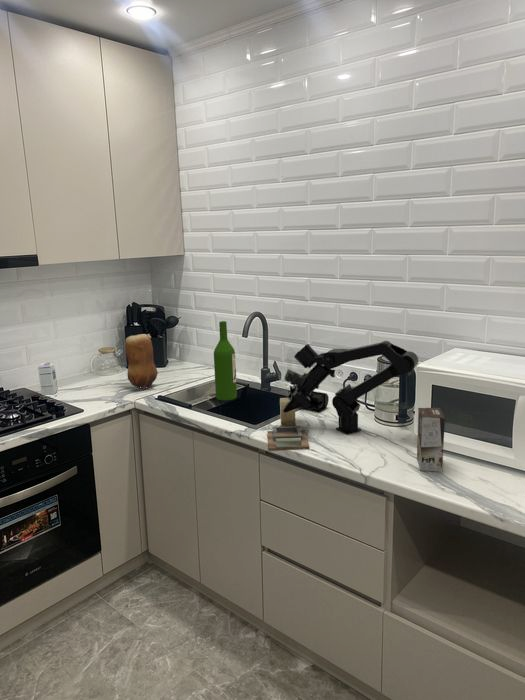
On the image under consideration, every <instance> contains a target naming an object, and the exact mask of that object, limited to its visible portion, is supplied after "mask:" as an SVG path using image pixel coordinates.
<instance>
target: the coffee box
mask: <svg viewBox="0 0 525 700" xmlns="http://www.w3.org/2000/svg"><path fill="white" fill-rule="evenodd" d="M417 412H418V413H417V436H416V437H417V445H416V460H417V464H418V467H419V471H424V472H425V471H426V472H443V463H444V462H443V461H444V445H445V444H444V442H445V440H444V439H445V424H446V422H445V421H446V417H445V415H444V413H443V411H442V410H441V408H440V407H418V408H417Z"/></svg>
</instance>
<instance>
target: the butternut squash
mask: <svg viewBox="0 0 525 700" xmlns="http://www.w3.org/2000/svg"><path fill="white" fill-rule="evenodd" d="M124 347H125V354H126V358H127V360H128V368H127V379H128V382H129V383H131V385H132V386H133V387H136V388H137V389H147V388H146V387H149V386H150V387H151V386H152V384H153V383H154V382H155V381H156V379H157V377H158V373H159V371H158V369H157V366H156V364H155V362H154V359H155V358H154V347H153V341H152V340H151V337H150V335H148V334H146V333H142V334H140V333H139V334H135V335H129V336H128V337H126V339H125V343H124ZM140 387H141V388H140ZM150 387H149V388H150Z"/></svg>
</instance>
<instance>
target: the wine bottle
mask: <svg viewBox="0 0 525 700" xmlns="http://www.w3.org/2000/svg"><path fill="white" fill-rule="evenodd" d="M218 326H219V341H218V342H217V344H216V346H215V348H214V351H213V365H214V366H213V369H214V384H215V385H214V387H215V398H216V400H218V401H224V402H225V401H233V400H235V399H237V396H238V388H237V365H236V363H237V362H236V351H235V348H234V347H233V345H232V344H231V342H230V341H229V339H228V329H227V328H228V326H227V321H225V320H224V321H223V320H222V321H219V325H218Z"/></svg>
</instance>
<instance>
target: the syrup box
mask: <svg viewBox="0 0 525 700" xmlns="http://www.w3.org/2000/svg"><path fill="white" fill-rule="evenodd" d="M37 370H38V378H39V384H40V392H41V396H42V395H55V394H56V393H57V391H58V390H59V389H58V382H57V373H56V368H55V362H44V363H43V362H42V363H40V364H39V365H38V366H37ZM58 392H59V391H58Z"/></svg>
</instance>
